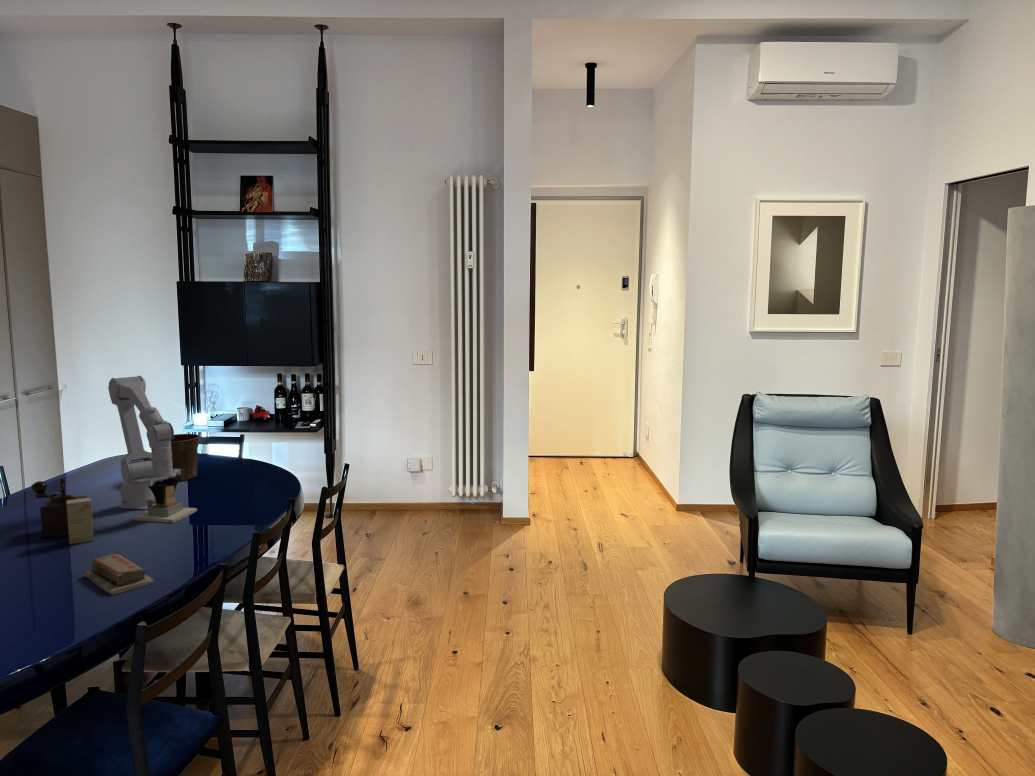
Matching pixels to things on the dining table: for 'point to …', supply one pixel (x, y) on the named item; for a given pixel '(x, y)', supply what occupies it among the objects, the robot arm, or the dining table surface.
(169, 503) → the wooden block
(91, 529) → the skincare box
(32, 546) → the dining table surface
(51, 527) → the manual coffee grinder
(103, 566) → the packaged product
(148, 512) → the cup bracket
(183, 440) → the plant pot
